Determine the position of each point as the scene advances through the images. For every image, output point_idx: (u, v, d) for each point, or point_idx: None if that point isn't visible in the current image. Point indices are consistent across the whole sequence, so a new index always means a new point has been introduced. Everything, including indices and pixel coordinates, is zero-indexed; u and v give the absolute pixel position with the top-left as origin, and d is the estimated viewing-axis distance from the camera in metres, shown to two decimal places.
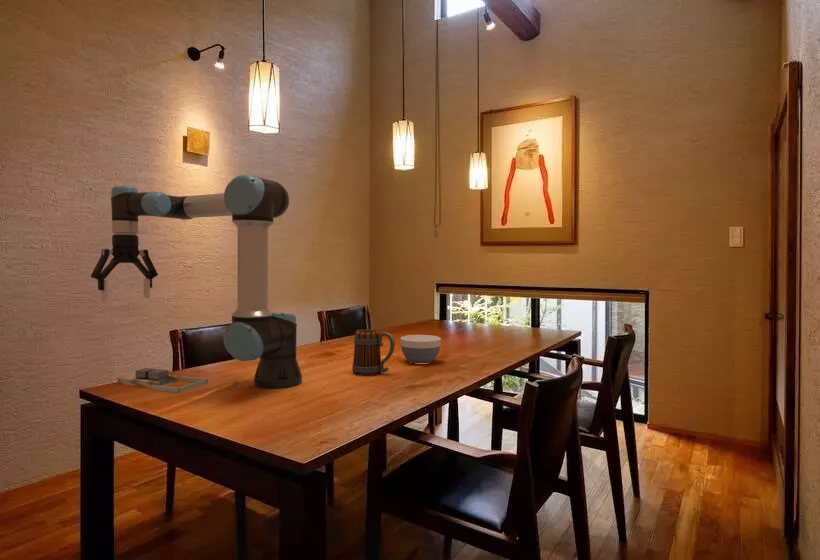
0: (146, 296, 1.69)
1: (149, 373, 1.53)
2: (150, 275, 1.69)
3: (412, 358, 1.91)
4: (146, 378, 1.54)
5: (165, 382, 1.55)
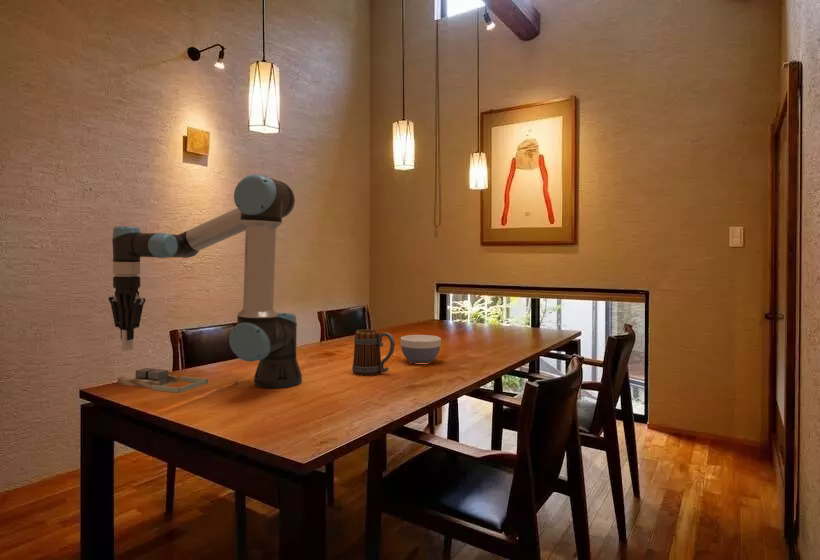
0: None
1: (149, 373, 1.53)
2: (127, 326, 1.56)
3: (412, 358, 1.91)
4: (146, 378, 1.54)
5: (165, 382, 1.55)
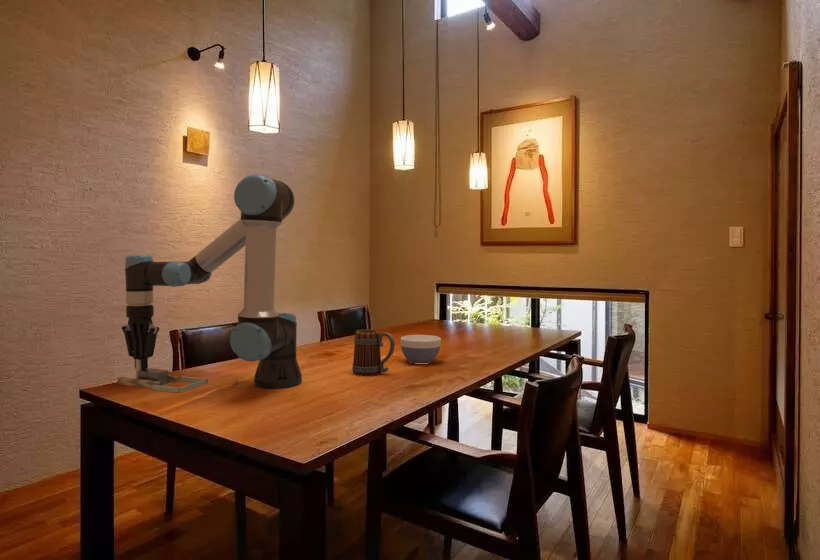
0: None
1: (149, 373, 1.53)
2: (141, 356, 1.55)
3: (412, 358, 1.91)
4: None
5: (165, 382, 1.55)
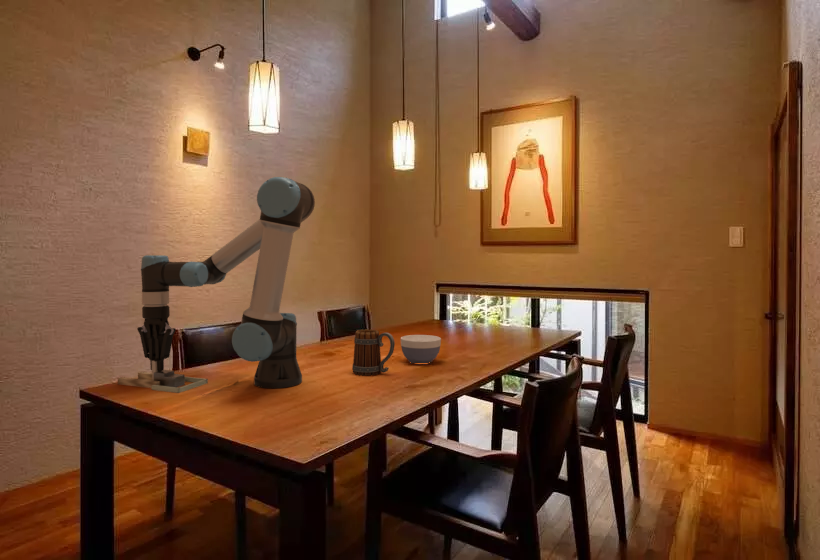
0: None
1: (165, 378, 1.51)
2: (157, 357, 1.53)
3: (412, 358, 1.91)
4: None
5: None
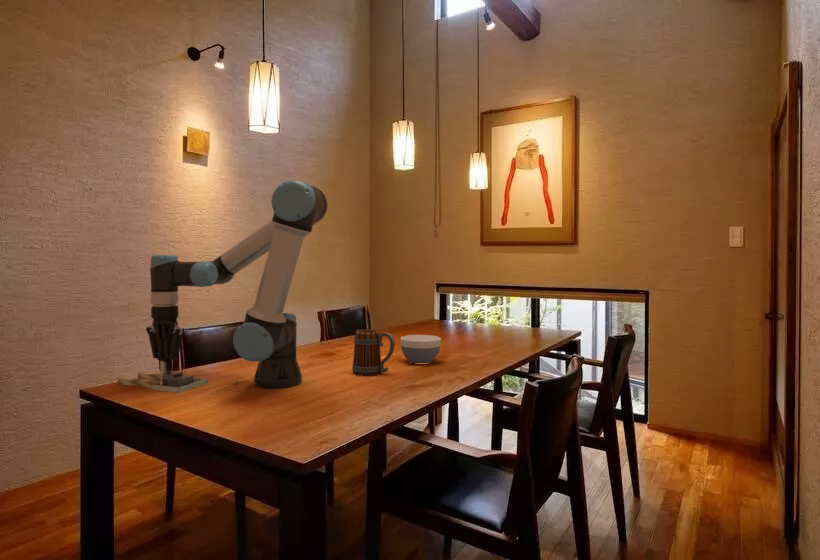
0: None
1: (174, 379, 1.50)
2: (166, 357, 1.52)
3: (412, 358, 1.91)
4: None
5: None
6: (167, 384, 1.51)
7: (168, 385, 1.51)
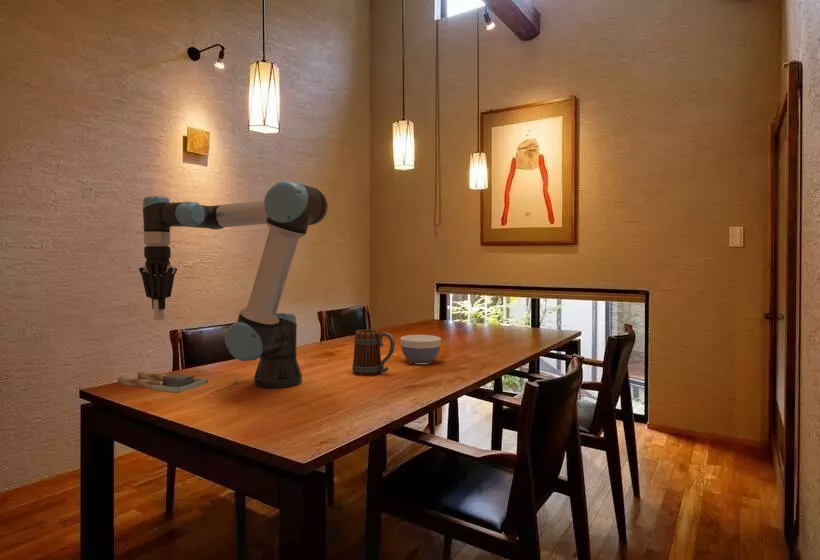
0: None
1: (174, 379, 1.50)
2: (159, 296, 1.57)
3: (412, 358, 1.91)
4: None
5: None
6: (167, 386, 1.51)
7: None
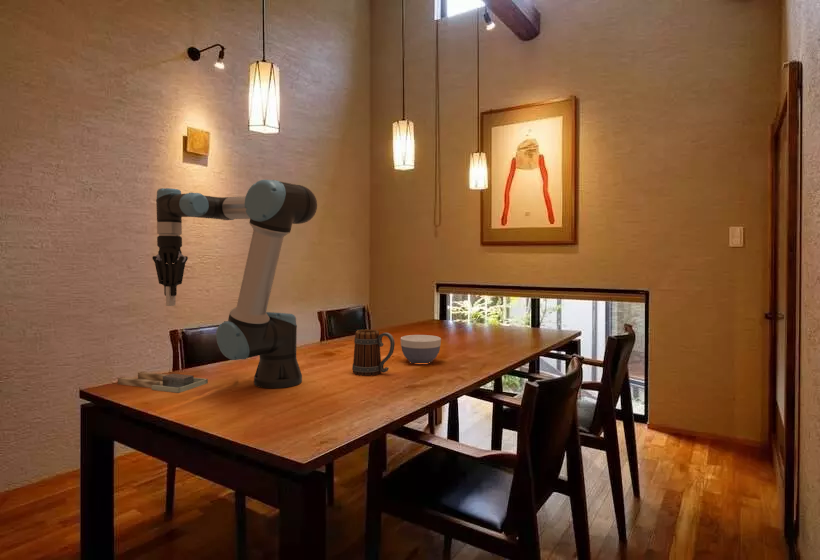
0: None
1: (174, 379, 1.50)
2: (170, 283, 1.66)
3: (412, 358, 1.91)
4: None
5: None
6: (167, 386, 1.51)
7: None
